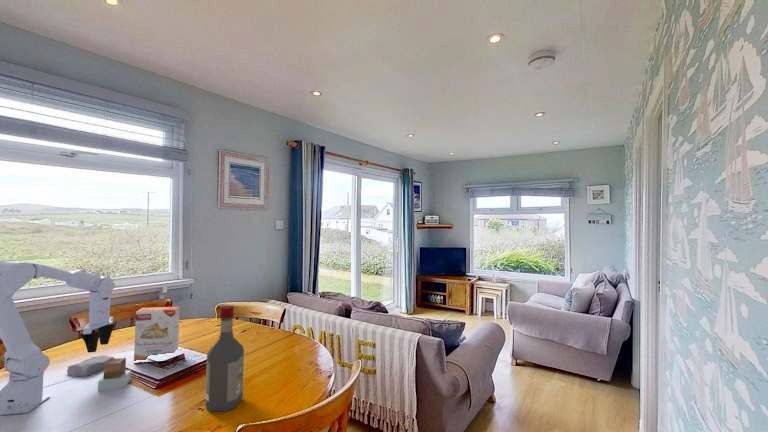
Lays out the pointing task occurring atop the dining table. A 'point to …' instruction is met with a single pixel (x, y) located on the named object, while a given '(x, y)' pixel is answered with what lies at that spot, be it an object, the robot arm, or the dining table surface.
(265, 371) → the dining table surface
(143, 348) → the cracker box
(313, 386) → the dining table surface
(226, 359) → the liquor
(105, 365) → the walnut block
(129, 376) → the grey-blue block
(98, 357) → the stone block
